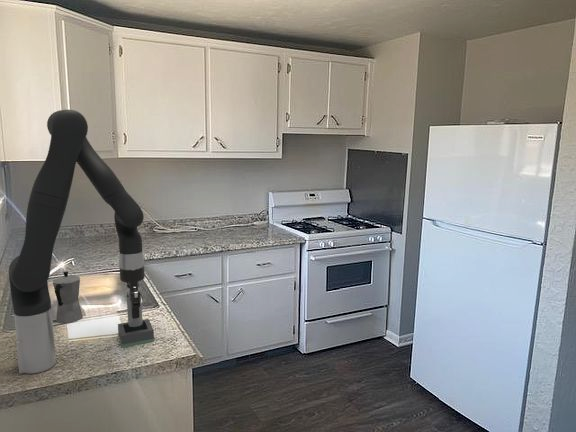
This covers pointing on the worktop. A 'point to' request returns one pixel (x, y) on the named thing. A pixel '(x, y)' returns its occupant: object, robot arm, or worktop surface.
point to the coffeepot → (67, 298)
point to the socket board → (135, 334)
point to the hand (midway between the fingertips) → (134, 314)
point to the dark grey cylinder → (131, 321)
